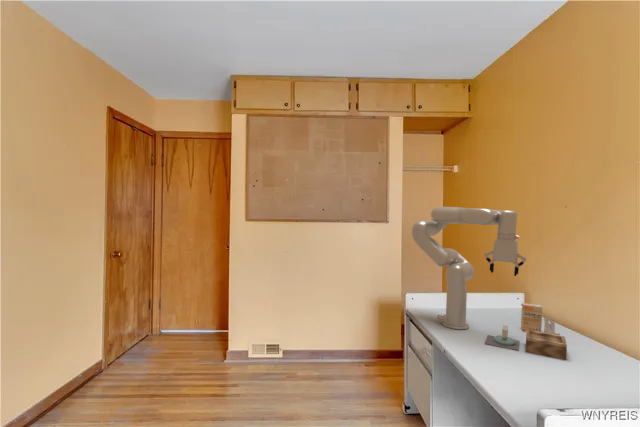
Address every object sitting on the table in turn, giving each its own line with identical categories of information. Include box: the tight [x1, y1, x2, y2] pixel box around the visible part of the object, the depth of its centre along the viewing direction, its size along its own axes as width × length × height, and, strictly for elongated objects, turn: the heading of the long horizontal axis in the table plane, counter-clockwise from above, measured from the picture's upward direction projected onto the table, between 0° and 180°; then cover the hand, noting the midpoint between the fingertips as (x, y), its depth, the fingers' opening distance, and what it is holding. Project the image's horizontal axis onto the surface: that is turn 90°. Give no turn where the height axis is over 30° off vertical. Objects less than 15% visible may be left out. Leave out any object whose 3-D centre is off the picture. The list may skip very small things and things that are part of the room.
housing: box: [525, 330, 568, 361], centre depth 150 cm, size 14×12×6 cm
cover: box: [494, 325, 516, 346], centre depth 158 cm, size 8×8×7 cm
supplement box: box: [520, 302, 543, 332], centre depth 177 cm, size 8×5×13 cm, turn 68°
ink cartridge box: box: [543, 315, 561, 336], centre depth 164 cm, size 2×11×10 cm, turn 168°
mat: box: [484, 334, 520, 352], centre depth 158 cm, size 13×13×1 cm
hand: (503, 273), depth 165 cm, fingers open, 9 cm apart
